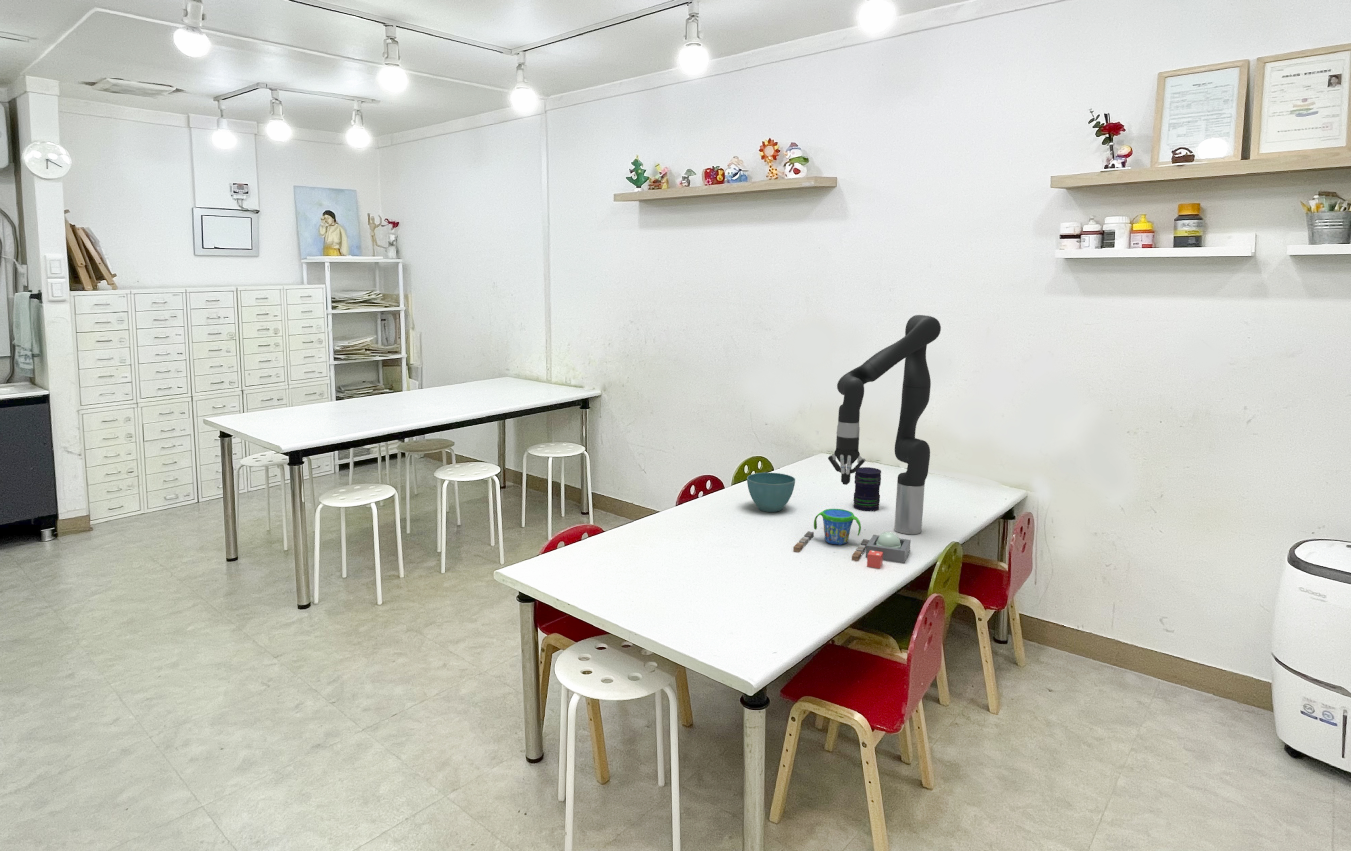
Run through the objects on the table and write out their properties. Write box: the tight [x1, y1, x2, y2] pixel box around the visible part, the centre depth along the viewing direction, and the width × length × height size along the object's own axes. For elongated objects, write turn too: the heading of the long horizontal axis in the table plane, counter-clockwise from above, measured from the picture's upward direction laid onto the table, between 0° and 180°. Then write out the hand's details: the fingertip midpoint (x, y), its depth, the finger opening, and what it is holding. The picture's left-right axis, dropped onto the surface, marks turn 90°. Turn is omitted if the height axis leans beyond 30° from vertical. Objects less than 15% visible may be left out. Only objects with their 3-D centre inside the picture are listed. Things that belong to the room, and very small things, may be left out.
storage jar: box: [853, 466, 882, 512], centre depth 313 cm, size 10×10×15 cm
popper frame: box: [865, 534, 912, 564], centre depth 262 cm, size 12×12×4 cm
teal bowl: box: [746, 472, 796, 513], centre depth 310 cm, size 18×18×12 cm
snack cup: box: [813, 508, 862, 546], centre depth 273 cm, size 16×10×10 cm
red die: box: [866, 550, 884, 569], centre depth 252 cm, size 4×4×4 cm
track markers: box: [792, 530, 870, 562], centre depth 268 cm, size 18×21×2 cm
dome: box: [876, 531, 901, 549], centre depth 262 cm, size 8×8×7 cm
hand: (845, 484), depth 279 cm, fingers closed
